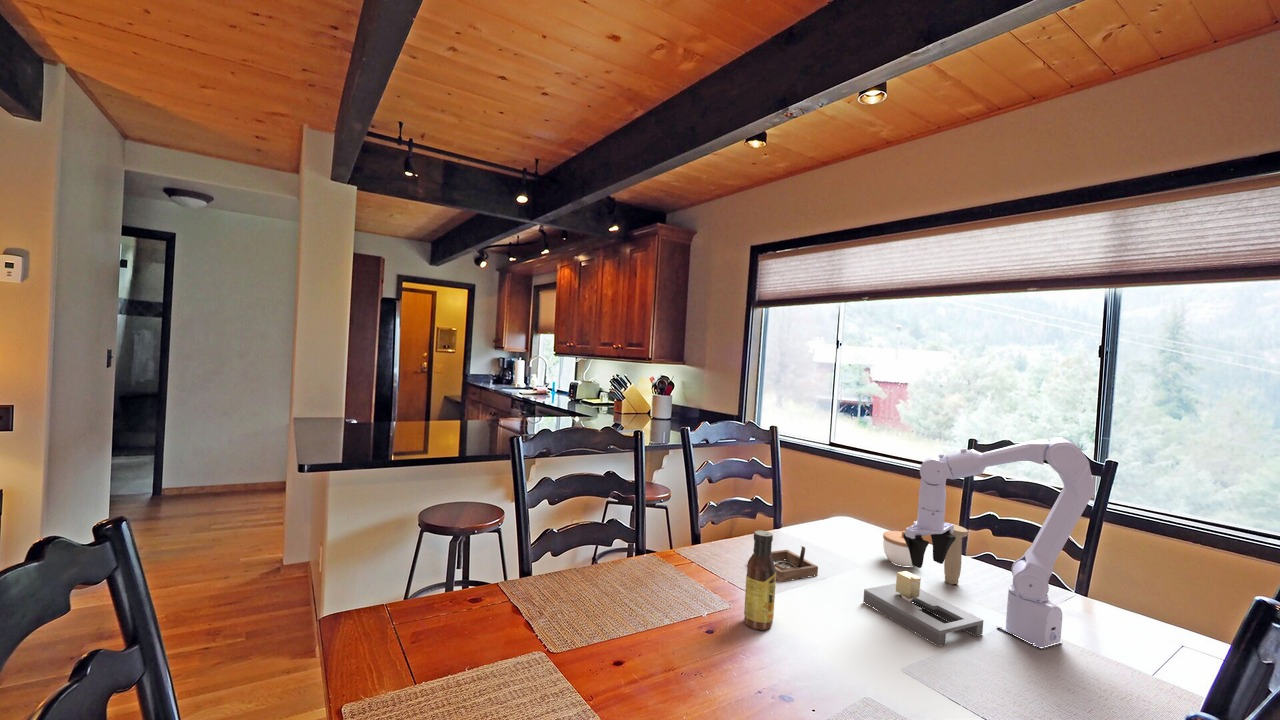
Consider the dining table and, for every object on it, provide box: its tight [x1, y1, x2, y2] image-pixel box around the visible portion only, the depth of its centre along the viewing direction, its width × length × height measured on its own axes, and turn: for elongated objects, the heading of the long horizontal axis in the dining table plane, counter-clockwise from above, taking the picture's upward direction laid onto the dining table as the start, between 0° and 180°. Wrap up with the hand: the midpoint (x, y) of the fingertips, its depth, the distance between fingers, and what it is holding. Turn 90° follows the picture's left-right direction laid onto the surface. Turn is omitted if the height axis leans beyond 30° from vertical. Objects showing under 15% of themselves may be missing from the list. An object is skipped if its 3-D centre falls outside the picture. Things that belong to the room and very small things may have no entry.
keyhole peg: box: [895, 570, 921, 604], centre depth 130 cm, size 5×5×8 cm
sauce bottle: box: [743, 529, 777, 631], centre depth 119 cm, size 7×6×20 cm
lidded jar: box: [882, 530, 914, 567], centre depth 159 cm, size 11×11×9 cm
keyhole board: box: [863, 582, 984, 647], centre depth 126 cm, size 20×14×3 cm
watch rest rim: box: [751, 549, 819, 583], centre depth 150 cm, size 12×12×2 cm
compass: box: [774, 545, 806, 570], centre depth 149 cm, size 8×8×7 cm
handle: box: [943, 523, 969, 585], centre depth 147 cm, size 5×6×15 cm
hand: (927, 564), depth 132 cm, fingers open, 7 cm apart
